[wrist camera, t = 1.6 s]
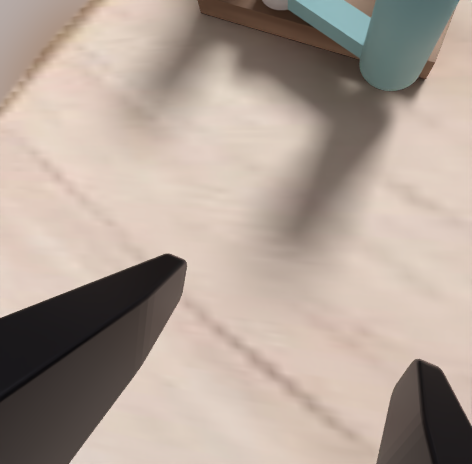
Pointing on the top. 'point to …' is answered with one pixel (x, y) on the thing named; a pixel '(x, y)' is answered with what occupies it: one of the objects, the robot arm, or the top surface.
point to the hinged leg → (379, 34)
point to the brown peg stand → (294, 24)
